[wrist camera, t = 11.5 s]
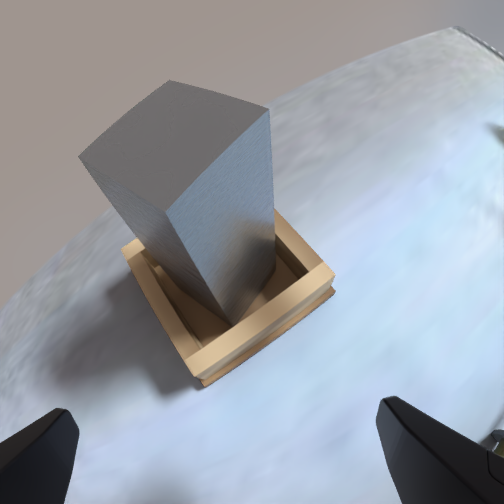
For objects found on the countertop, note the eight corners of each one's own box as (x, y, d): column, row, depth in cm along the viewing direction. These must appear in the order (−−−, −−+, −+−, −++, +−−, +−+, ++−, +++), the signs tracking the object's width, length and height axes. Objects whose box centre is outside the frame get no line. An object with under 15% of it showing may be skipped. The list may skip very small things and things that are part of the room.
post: (233, 327, 18) (165, 212, 7) (178, 288, 19) (78, 156, 8) (276, 270, 19) (269, 108, 8) (220, 236, 21) (169, 80, 10)
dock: (206, 387, 17) (192, 384, 14) (134, 268, 21) (115, 248, 18) (334, 294, 19) (343, 275, 16) (245, 195, 23) (240, 168, 20)
